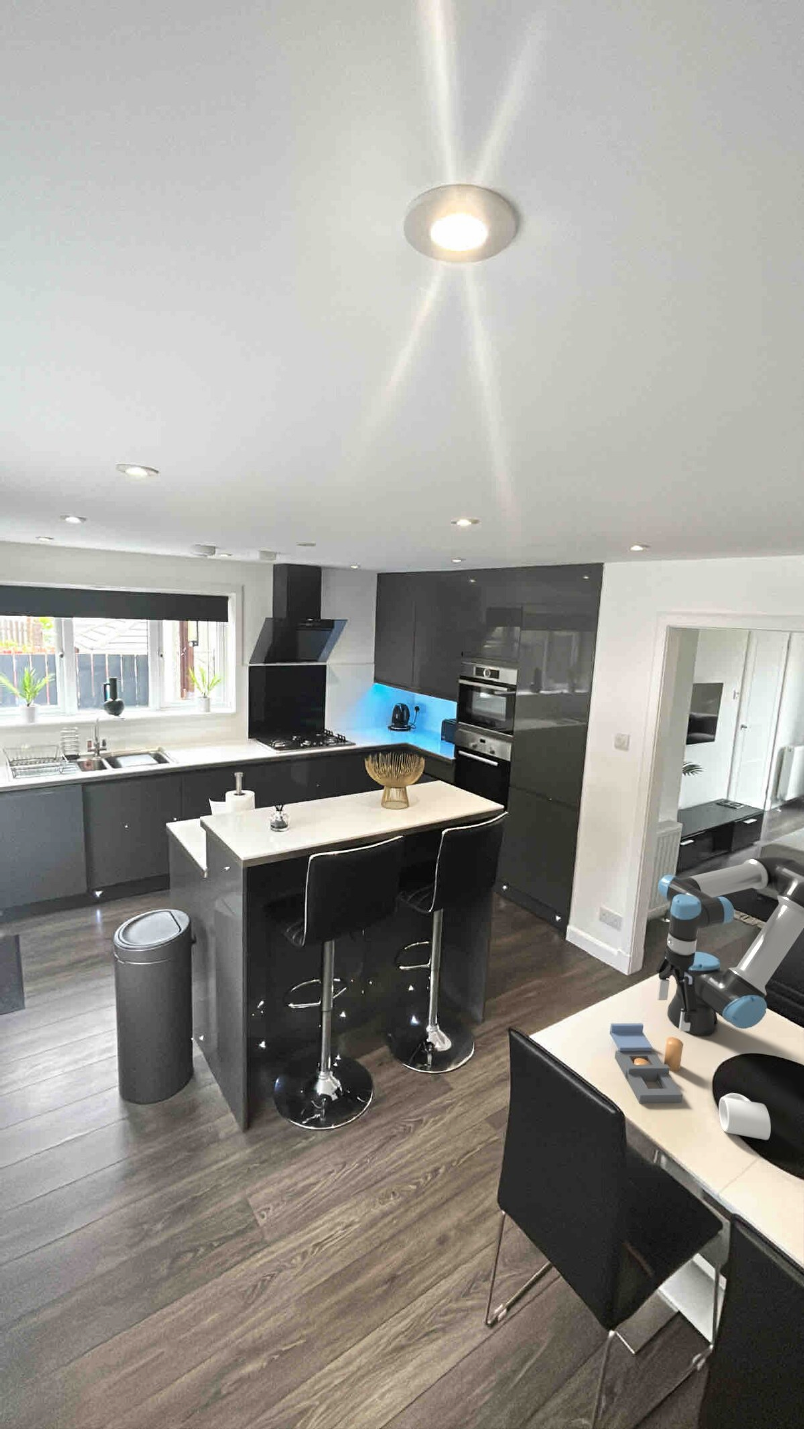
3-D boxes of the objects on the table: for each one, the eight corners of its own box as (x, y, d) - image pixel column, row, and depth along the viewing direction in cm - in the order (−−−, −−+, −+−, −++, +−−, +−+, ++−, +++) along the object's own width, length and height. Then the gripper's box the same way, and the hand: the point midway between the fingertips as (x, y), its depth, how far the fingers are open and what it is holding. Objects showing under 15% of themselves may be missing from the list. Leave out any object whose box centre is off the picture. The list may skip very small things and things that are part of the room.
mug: (768, 1147, 158) (772, 1120, 156) (726, 1139, 160) (730, 1113, 158) (752, 1110, 169) (756, 1085, 168) (712, 1103, 171) (716, 1078, 170)
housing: (653, 1057, 188) (654, 1045, 187) (681, 1102, 171) (683, 1089, 170) (614, 1057, 187) (616, 1045, 186) (639, 1103, 170) (641, 1089, 169)
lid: (640, 1033, 194) (642, 1023, 193) (652, 1050, 187) (653, 1040, 186) (609, 1033, 193) (610, 1023, 193) (619, 1051, 186) (620, 1040, 185)
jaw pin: (675, 1060, 187) (678, 1037, 185) (682, 1071, 183) (685, 1047, 181) (661, 1060, 187) (664, 1037, 185) (668, 1071, 182) (671, 1047, 181)
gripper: (649, 925, 190) (642, 987, 194) (689, 974, 165) (680, 1044, 169) (673, 925, 190) (665, 987, 194) (717, 974, 166) (707, 1044, 170)
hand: (672, 1014), depth 182 cm, fingers open, 13 cm apart
